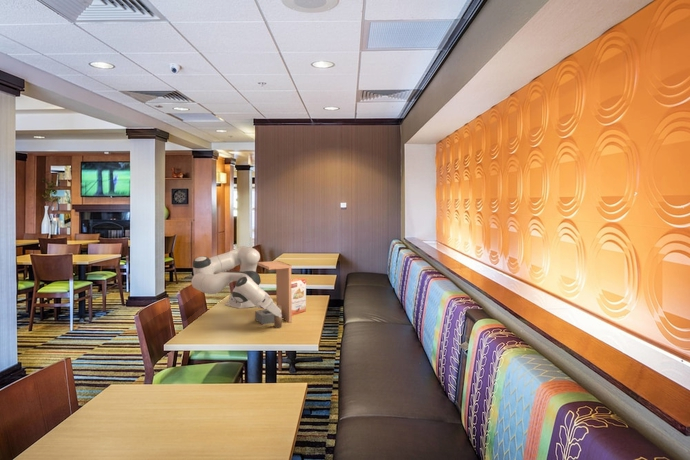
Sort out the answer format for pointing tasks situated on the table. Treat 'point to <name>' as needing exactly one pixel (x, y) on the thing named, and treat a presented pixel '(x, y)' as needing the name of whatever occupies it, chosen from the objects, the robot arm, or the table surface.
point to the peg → (278, 319)
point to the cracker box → (298, 295)
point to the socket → (264, 317)
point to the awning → (282, 286)
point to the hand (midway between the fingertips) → (278, 315)
